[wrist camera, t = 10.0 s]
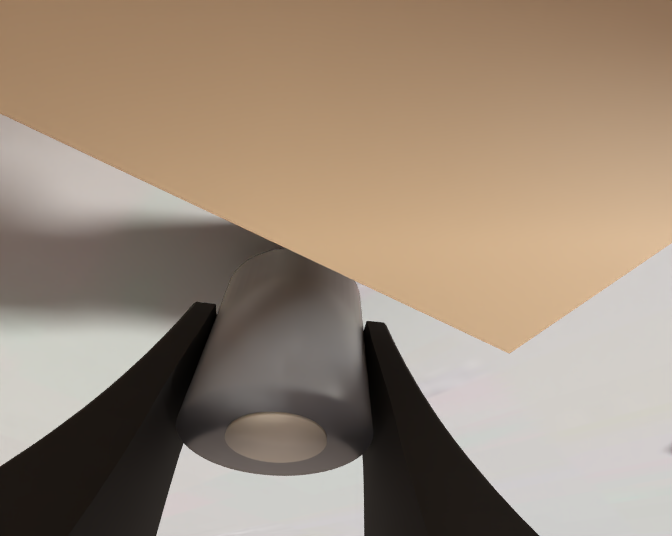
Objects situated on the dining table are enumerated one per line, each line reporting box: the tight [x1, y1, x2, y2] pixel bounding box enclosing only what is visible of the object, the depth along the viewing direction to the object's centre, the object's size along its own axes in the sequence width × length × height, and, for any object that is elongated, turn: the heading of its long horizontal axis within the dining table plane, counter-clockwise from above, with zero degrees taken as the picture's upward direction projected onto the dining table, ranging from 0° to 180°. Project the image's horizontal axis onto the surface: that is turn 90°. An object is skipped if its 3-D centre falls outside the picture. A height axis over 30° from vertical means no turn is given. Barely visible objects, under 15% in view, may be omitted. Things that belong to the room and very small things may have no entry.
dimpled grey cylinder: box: [176, 249, 373, 476], centre depth 10 cm, size 5×5×5 cm
